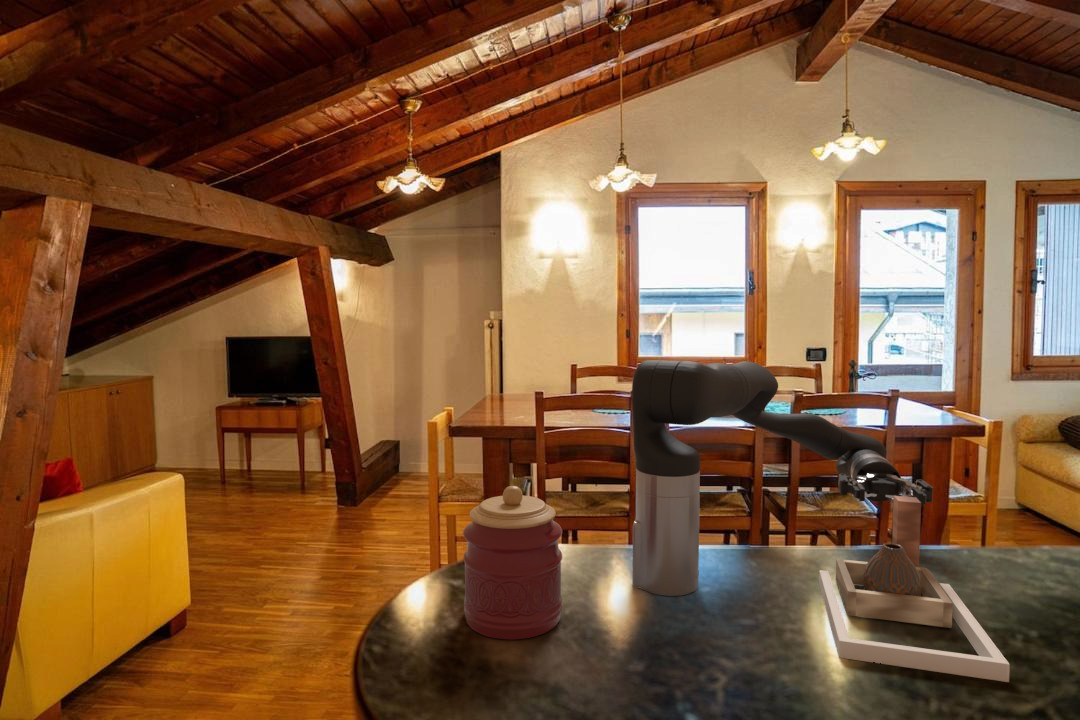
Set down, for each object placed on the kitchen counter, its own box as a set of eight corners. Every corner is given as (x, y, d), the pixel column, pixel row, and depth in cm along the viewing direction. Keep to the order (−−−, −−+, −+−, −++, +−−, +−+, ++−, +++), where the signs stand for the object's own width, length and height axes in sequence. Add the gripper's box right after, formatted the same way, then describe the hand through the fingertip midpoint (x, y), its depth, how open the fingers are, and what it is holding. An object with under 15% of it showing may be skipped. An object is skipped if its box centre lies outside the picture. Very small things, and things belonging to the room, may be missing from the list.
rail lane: (839, 657, 75) (839, 640, 74) (819, 583, 95) (819, 570, 95) (1008, 682, 69) (1009, 664, 69) (948, 598, 90) (949, 584, 90)
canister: (443, 619, 84) (441, 487, 83) (513, 588, 94) (512, 469, 93) (512, 653, 76) (512, 506, 75) (582, 616, 85) (582, 485, 84)
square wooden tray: (847, 614, 85) (849, 525, 84) (831, 566, 101) (832, 491, 100) (951, 628, 81) (955, 534, 80) (917, 575, 98) (919, 497, 97)
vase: (929, 623, 83) (931, 557, 82) (871, 618, 84) (873, 553, 84) (909, 600, 90) (911, 538, 89) (856, 596, 91) (857, 535, 90)
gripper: (833, 453, 123) (844, 472, 108) (917, 459, 118) (941, 479, 103) (832, 492, 123) (843, 516, 108) (916, 499, 119) (940, 524, 103)
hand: (891, 497), depth 106 cm, fingers open, 8 cm apart
